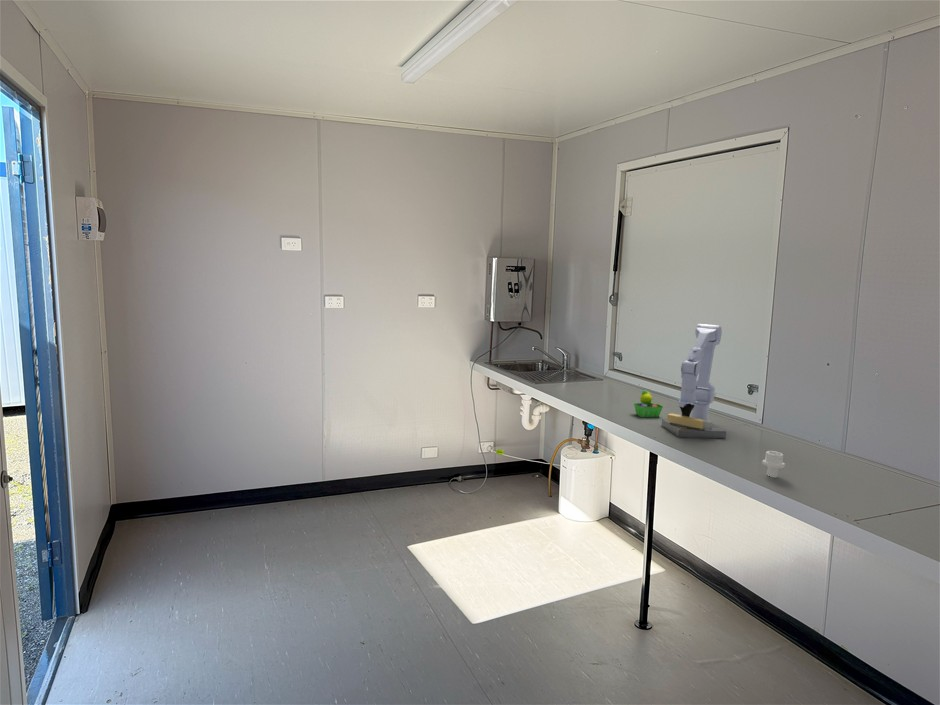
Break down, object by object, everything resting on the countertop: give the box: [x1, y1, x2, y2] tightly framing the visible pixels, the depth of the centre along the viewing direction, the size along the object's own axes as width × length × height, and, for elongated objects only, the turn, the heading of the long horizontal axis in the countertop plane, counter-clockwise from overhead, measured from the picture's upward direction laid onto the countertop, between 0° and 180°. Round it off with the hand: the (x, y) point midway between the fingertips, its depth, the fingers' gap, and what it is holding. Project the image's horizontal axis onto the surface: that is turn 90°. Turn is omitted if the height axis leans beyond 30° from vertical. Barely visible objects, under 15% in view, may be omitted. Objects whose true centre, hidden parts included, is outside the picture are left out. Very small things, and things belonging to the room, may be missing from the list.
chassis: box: [661, 418, 727, 439], centre depth 266 cm, size 18×20×4 cm
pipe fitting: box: [761, 450, 786, 478], centre depth 213 cm, size 6×7×8 cm
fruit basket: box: [633, 389, 664, 418], centre depth 291 cm, size 11×9×11 cm
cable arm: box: [666, 413, 713, 430], centre depth 262 cm, size 18×4×3 cm, turn 49°
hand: (685, 421), depth 266 cm, fingers closed, pressing on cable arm
